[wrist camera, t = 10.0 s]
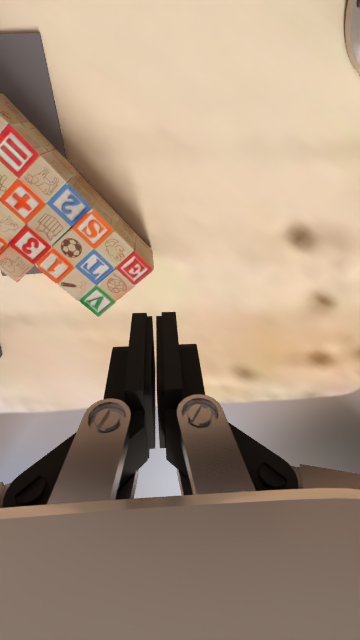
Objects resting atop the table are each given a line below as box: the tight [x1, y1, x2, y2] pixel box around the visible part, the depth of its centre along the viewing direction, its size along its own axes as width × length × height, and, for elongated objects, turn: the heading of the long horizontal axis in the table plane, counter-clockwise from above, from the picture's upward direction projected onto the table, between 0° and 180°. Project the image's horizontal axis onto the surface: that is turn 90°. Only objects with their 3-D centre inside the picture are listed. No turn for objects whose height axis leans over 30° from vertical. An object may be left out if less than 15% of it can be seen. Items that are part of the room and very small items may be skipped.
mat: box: [0, 33, 67, 276], centre depth 34 cm, size 11×23×1 cm, turn 2°
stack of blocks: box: [0, 93, 154, 317], centre depth 34 cm, size 21×6×12 cm
